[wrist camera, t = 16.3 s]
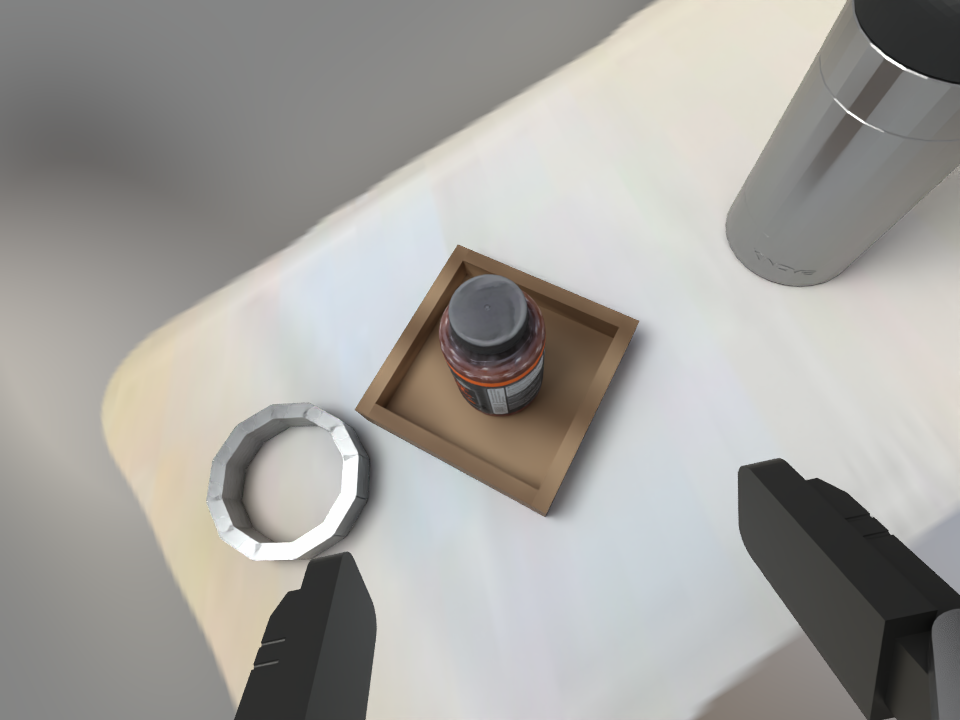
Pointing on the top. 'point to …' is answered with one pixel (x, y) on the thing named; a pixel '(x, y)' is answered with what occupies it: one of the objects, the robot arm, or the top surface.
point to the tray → (501, 439)
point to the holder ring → (240, 453)
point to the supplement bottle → (494, 344)
